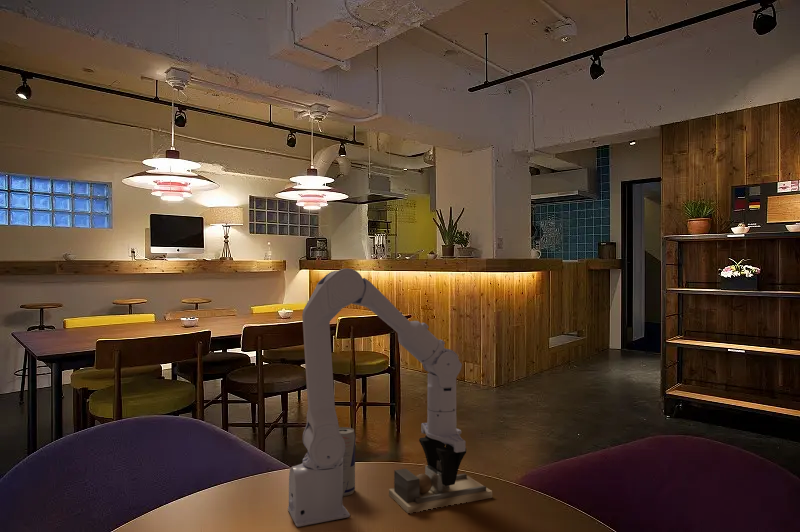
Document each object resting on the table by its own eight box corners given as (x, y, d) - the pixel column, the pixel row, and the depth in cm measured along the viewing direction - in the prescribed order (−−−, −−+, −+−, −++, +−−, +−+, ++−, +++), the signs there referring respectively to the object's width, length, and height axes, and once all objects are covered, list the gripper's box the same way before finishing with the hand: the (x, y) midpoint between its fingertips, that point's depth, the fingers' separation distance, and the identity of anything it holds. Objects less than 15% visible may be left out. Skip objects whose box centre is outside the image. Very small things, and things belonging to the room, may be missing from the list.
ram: (437, 495, 93) (437, 465, 93) (425, 485, 97) (425, 457, 98) (453, 492, 94) (453, 463, 94) (440, 482, 99) (440, 455, 99)
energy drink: (357, 487, 100) (357, 427, 101) (352, 497, 95) (352, 434, 96) (331, 486, 101) (332, 426, 102) (324, 496, 96) (325, 433, 96)
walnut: (418, 498, 92) (418, 478, 92) (410, 491, 95) (410, 472, 95) (435, 495, 93) (435, 475, 94) (426, 488, 97) (426, 469, 97)
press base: (408, 513, 88) (408, 484, 88) (388, 495, 96) (389, 468, 97) (492, 497, 95) (492, 470, 96) (467, 481, 103) (467, 456, 104)
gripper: (479, 415, 92) (479, 489, 91) (442, 400, 105) (442, 464, 104) (446, 418, 89) (446, 495, 88) (412, 402, 102) (412, 469, 101)
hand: (442, 479), depth 96 cm, fingers closed on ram, 5 cm apart
